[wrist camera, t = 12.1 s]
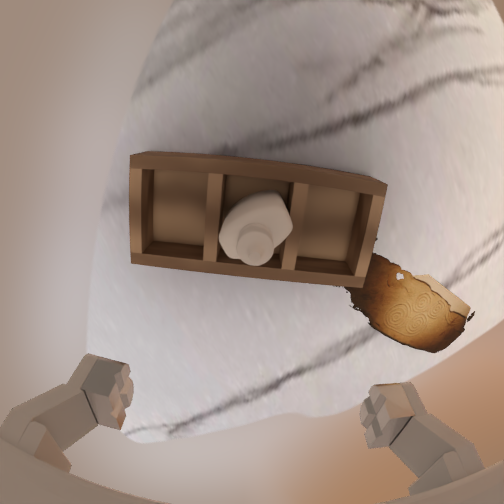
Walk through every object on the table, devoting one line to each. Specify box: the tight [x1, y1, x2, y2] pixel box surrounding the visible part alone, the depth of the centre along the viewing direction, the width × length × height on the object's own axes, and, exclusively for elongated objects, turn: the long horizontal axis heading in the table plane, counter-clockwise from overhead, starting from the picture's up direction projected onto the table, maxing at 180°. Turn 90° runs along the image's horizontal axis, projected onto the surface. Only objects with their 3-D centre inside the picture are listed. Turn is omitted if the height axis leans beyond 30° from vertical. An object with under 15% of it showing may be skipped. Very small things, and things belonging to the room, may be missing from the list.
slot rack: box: [129, 151, 388, 288], centre depth 28 cm, size 10×23×4 cm, turn 84°
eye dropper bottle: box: [219, 190, 293, 266], centre depth 24 cm, size 4×6×12 cm
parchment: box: [333, 238, 475, 353], centre depth 35 cm, size 25×10×1 cm, turn 60°
